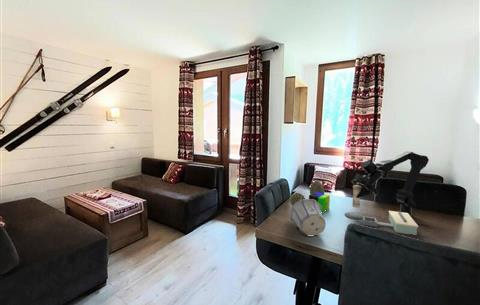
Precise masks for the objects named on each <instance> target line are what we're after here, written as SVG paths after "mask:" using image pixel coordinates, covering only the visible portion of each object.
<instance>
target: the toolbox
mask: <svg viewBox="0 0 480 305" xmlns="http://www.w3.org/2000/svg"><path fill="white" fill-rule="evenodd" d="M361 220H362V224H363V225H364V226H370V227H378V226H379V227H386V228H393V229H394V231H395V233H399V234H405V235H411V234H412V236H417V235H418V234H417V232H418V228H419V225H418V224H417V223H416V221H415V220H414V219H413V218H412V216H410V215H409V214H408V213H403V212H398V211H395V210H394V211H393V210H388V220H389V222H390V223H388V222H381V221H378V220H377V218H376V217H371V216H364V215H362V219H361Z"/></svg>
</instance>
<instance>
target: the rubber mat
mask: <svg viewBox="0 0 480 305" xmlns="http://www.w3.org/2000/svg"><path fill="white" fill-rule="evenodd" d="M344 216H345V217H346V218H349V219H352V220H362V219H363V215H362V214H360V213H357V212H351V211H349V212H345V213H344Z"/></svg>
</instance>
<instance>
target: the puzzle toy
mask: <svg viewBox="0 0 480 305" xmlns="http://www.w3.org/2000/svg"><path fill="white" fill-rule="evenodd" d="M330 196H331V195H330V194H326V193H324V194H322V193H317V192H315V193H313V194H311V195H310V194H309V195H308V199H314V200H315V201H317V202H318V203H319V204H320V205H321V206H322V211H321V212H324V211H325V210H327V209H329V210H330V201H331V200H330ZM327 211H328V210H327ZM324 213H325V212H324Z"/></svg>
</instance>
